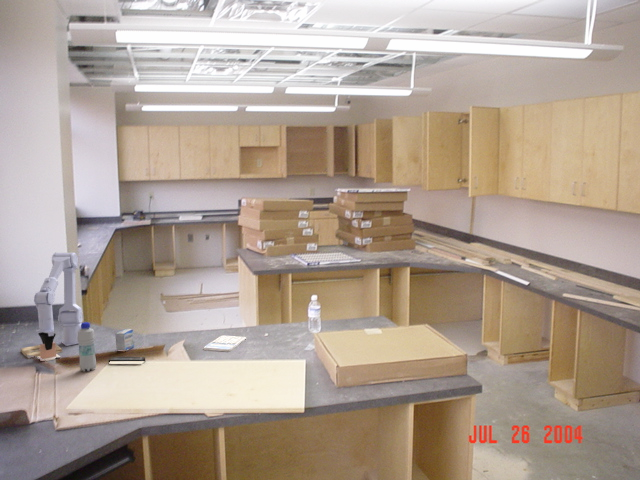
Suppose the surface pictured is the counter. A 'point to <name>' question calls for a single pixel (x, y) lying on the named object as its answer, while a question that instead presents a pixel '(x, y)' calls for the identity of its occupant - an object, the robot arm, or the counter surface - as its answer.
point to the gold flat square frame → (36, 350)
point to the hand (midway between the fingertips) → (48, 348)
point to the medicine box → (124, 339)
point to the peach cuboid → (47, 351)
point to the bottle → (86, 347)
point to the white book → (224, 343)
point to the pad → (51, 357)
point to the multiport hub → (127, 359)
